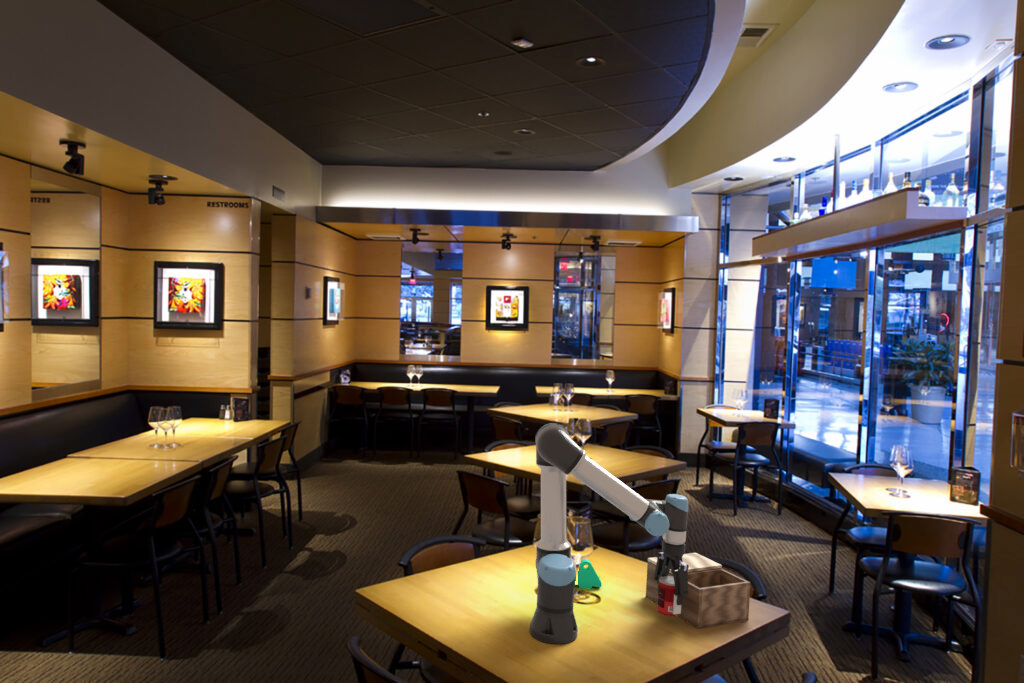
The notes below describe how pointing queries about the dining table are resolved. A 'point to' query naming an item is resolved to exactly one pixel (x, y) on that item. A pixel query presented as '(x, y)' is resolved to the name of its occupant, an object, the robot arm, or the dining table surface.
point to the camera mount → (587, 576)
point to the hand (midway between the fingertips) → (668, 608)
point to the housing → (709, 597)
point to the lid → (694, 562)
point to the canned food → (666, 596)
